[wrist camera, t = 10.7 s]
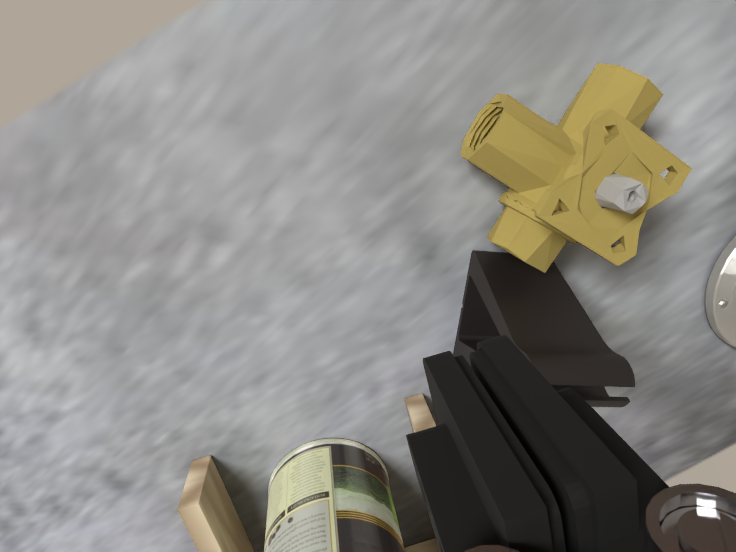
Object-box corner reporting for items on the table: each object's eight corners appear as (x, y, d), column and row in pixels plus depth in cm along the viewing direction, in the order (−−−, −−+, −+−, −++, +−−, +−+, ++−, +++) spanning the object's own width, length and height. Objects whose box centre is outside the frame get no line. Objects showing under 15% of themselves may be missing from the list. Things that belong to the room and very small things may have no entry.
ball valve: (535, 264, 37) (615, 317, 28) (422, 201, 34) (469, 236, 25) (636, 111, 34) (764, 113, 25) (522, 29, 31) (618, -5, 22)
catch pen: (422, 393, 39) (438, 431, 34) (459, 543, 45) (477, 594, 40) (192, 460, 38) (177, 509, 34) (260, 604, 44) (256, 663, 40)
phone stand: (522, 360, 39) (610, 461, 28) (451, 357, 38) (514, 461, 27) (547, 254, 37) (657, 319, 25) (472, 248, 36) (551, 313, 24)
